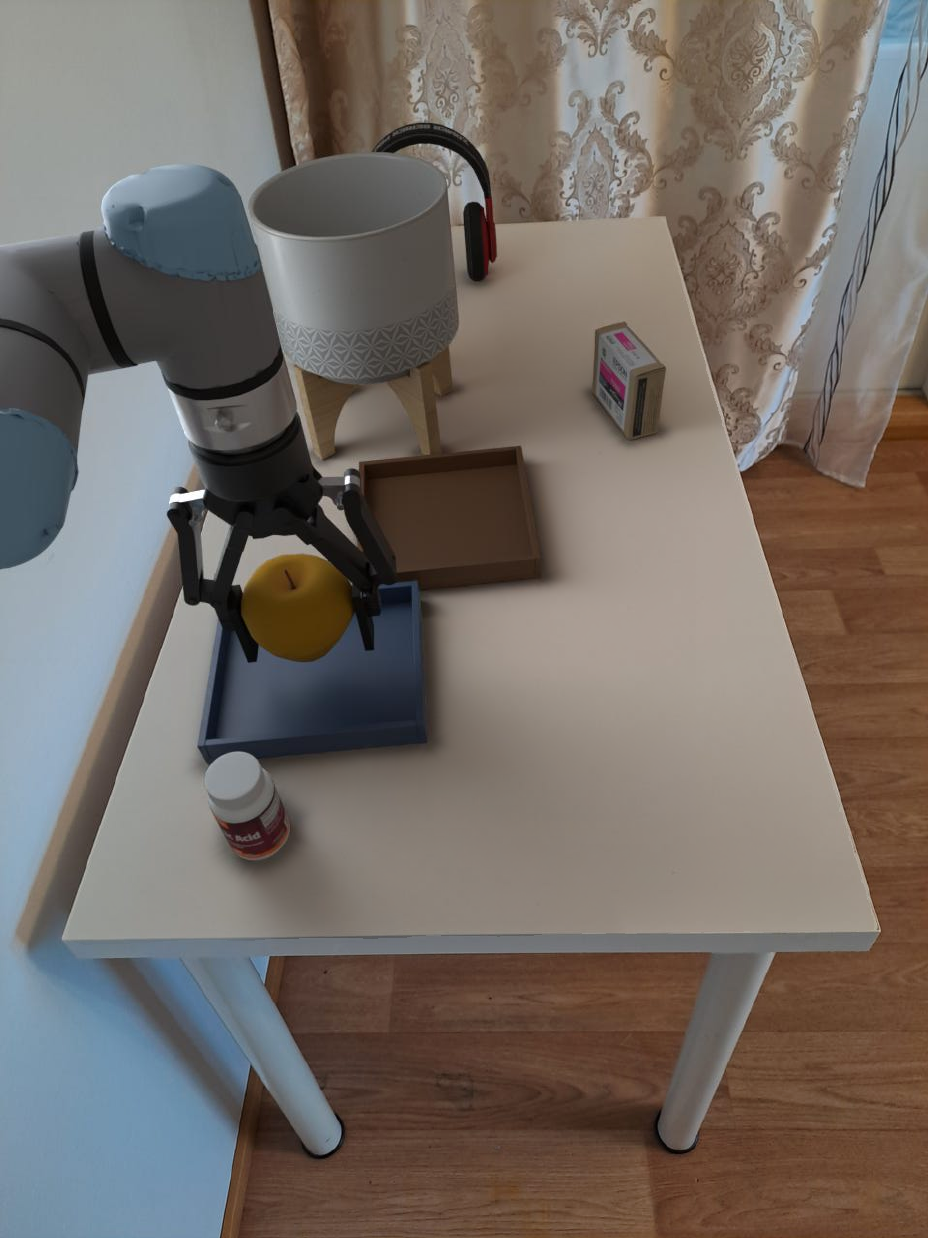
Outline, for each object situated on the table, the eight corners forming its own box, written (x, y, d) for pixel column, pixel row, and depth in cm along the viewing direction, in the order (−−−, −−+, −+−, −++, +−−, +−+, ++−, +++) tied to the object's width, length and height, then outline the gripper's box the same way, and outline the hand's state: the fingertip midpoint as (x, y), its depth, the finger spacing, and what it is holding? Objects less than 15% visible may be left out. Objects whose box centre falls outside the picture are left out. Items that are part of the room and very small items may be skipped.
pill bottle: (219, 854, 68) (185, 796, 62) (247, 800, 71) (217, 740, 65) (275, 869, 67) (247, 811, 61) (301, 814, 70) (277, 754, 64)
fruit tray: (206, 764, 74) (197, 746, 72) (228, 618, 85) (220, 599, 83) (427, 743, 74) (423, 724, 72) (420, 599, 85) (417, 580, 83)
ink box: (590, 393, 105) (592, 327, 99) (620, 385, 106) (624, 319, 99) (628, 442, 98) (633, 375, 92) (660, 433, 99) (667, 366, 93)
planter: (501, 420, 103) (488, 186, 83) (367, 496, 95) (319, 259, 76) (402, 357, 113) (370, 136, 94) (274, 422, 106) (211, 196, 87)
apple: (378, 614, 78) (361, 538, 72) (343, 695, 73) (322, 621, 66) (282, 600, 80) (257, 525, 74) (241, 679, 75) (210, 605, 68)
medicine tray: (360, 595, 86) (356, 576, 84) (362, 480, 97) (358, 461, 95) (541, 577, 86) (541, 558, 84) (521, 464, 97) (521, 445, 95)
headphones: (370, 303, 123) (345, 148, 108) (373, 268, 129) (349, 117, 115) (499, 292, 122) (491, 135, 107) (495, 258, 129) (488, 105, 114)
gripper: (65, 476, 57) (176, 692, 74) (408, 440, 57) (442, 665, 74) (90, 407, 62) (189, 624, 79) (405, 374, 62) (438, 599, 79)
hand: (311, 644), depth 76 cm, fingers closed on apple, 9 cm apart
